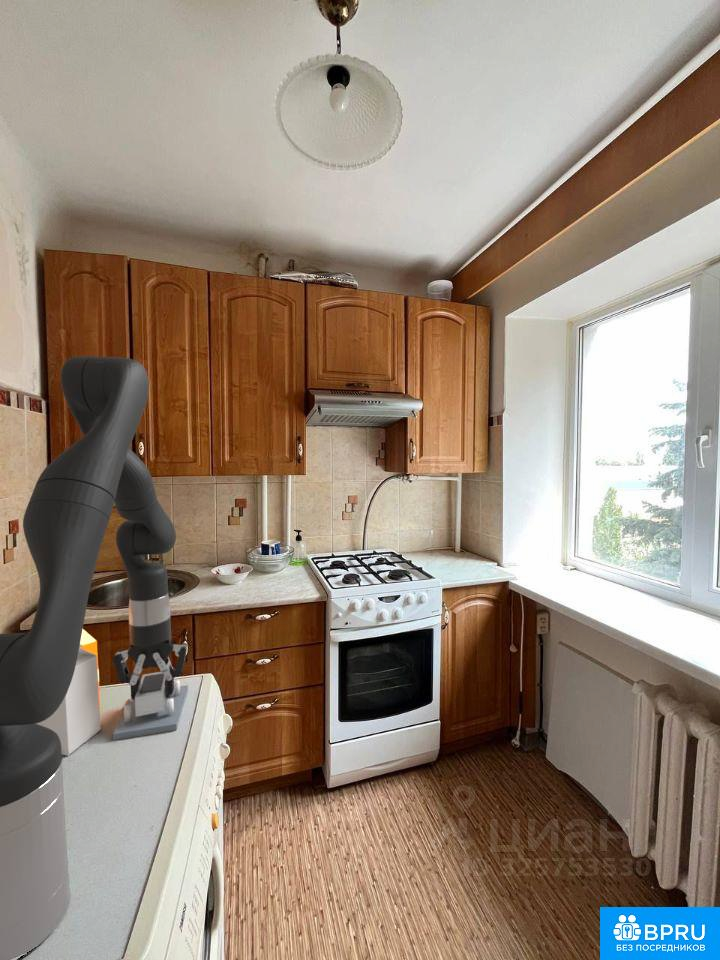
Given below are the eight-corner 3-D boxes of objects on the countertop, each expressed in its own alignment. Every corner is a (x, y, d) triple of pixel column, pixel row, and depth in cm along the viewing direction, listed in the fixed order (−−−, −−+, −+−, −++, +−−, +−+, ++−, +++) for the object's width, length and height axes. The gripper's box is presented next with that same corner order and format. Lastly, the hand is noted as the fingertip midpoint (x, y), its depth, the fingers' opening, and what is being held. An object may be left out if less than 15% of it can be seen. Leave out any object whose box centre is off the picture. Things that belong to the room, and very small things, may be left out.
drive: (164, 711, 82) (163, 691, 82) (135, 716, 80) (134, 696, 80) (169, 687, 90) (168, 669, 90) (143, 691, 89) (142, 673, 88)
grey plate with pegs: (176, 730, 80) (175, 709, 80) (113, 740, 77) (112, 718, 77) (188, 690, 94) (187, 672, 93) (134, 697, 91) (133, 679, 91)
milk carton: (68, 756, 73) (62, 652, 72) (35, 751, 75) (29, 648, 74) (101, 730, 80) (96, 634, 79) (70, 726, 82) (64, 631, 81)
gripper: (103, 628, 79) (108, 714, 80) (184, 620, 82) (187, 703, 83) (116, 614, 86) (120, 693, 87) (190, 607, 90) (193, 683, 91)
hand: (153, 697), depth 85 cm, fingers closed on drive, 5 cm apart
